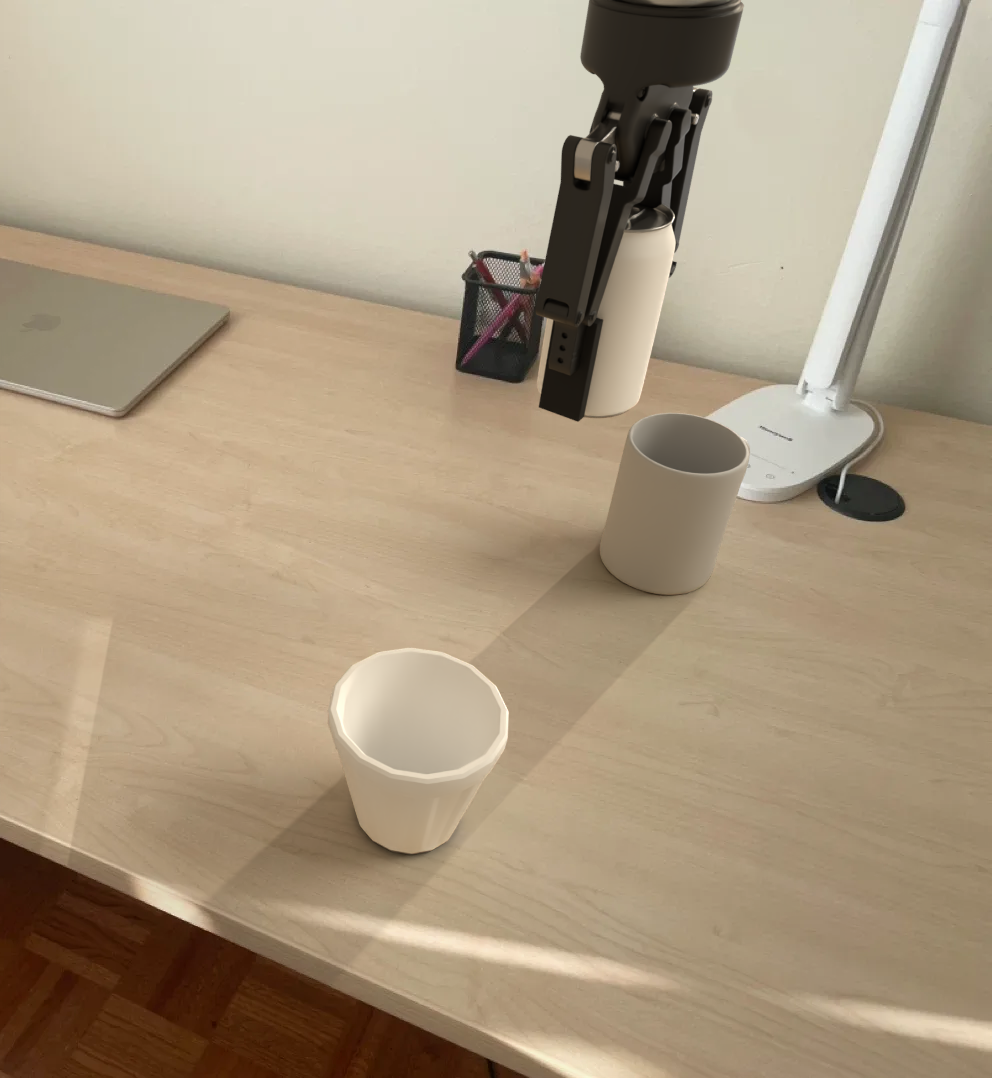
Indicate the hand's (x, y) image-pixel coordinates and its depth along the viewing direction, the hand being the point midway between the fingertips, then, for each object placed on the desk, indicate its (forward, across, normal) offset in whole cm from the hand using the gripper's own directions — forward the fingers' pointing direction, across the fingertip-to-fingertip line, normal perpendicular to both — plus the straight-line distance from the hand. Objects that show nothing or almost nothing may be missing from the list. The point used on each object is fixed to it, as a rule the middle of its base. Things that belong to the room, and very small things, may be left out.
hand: (588, 388), depth 67 cm
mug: (+19, -12, +4) cm, 23 cm away
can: (+1, 0, 0) cm, 1 cm away
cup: (+19, +22, +3) cm, 29 cm away
